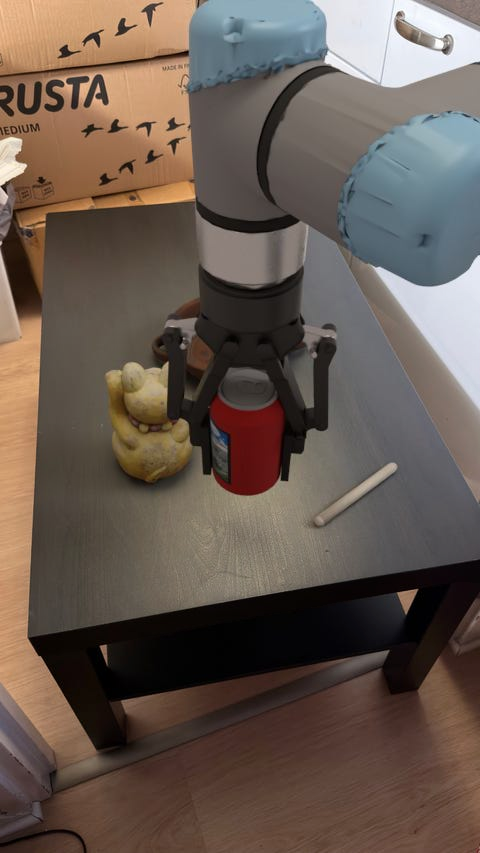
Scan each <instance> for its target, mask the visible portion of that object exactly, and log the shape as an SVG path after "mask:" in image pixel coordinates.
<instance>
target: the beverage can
mask: <svg viewBox="0 0 480 853" xmlns="http://www.w3.org/2000/svg"><path fill="white" fill-rule="evenodd" d="M209 408H210V434H211V453H212V475H213V478H214V480H215V481H216V483H217V484H218V485H219V486H220V487H221V488H222V489H223V490H225V491H226V492H228V493H231V494H233V495H235V496H236V495H237V496H241V497H242V496H243V497H251V496H258V495H262V494H264V493H266V492H268V491H269V490H271V489H272V488H273V487H274V486H275V485H276V484H277V483H278V481H279V480H280V478H281V465H282V455H283V443H284V432H285V420H286V413H285V410H284V408H283V405H282V403H281V401H280V398H279V396H278V393H277V391H276V389H275V386H274V384H273V382H271V381H270V379H269V377H268V375H267V372H266V370H258V369H254V368H250V367H244V368H229V369H228V371H227V373H226V375H225V377H224V379H222V381H221V383H220V385H219V387H218V389H217V391H216V393H215V395H214V397H213V400H212V402H211V404H210V406H209Z"/></svg>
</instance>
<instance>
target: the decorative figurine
mask: <svg viewBox="0 0 480 853" xmlns="http://www.w3.org/2000/svg"><path fill="white" fill-rule="evenodd" d="M104 379H105V383H106V384H105V385H106V387H107V392H108V398H109V400H108V414H109V415H108V416H109V420H110V422H111V427H112V428H113V430H114V431H113V433H112V436H111V446H112V450H113V452H114V455H115V457H116V459H117V462H118V464H119V465H120V467H121V469H122V470H123V471H124V472H125V473H126V474H128V475H129V476H130V477H132V478H136V479H138V480H143V481H145V482H146V483H156V482H157V481H158V480H159V479H165V478H168V477H171V476H173V475H174V476H175V474H178V472H180V471H181V470H182V469H183V468H184V467H185V466H186V464H187V463H188V462H189V460H190V457H191V455H192V453H193V451H194V448H195V446H192V445H191V443H190V435H189V424H188V422H187V421H185V420H183V419H178V420H170V419H169V418H168V417H167V389H168V362H165V363H164V364H163V366H162V367H161V368H159V367H150V368H147V369H144V367H143V366H142V365H141V364H139V363H137V362H133V361H130V362H127V363H125V365H124V366H123V368H122V370H120V369H111V370H109V371H108V372H106V373H105V375H104Z"/></svg>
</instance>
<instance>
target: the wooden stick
mask: <svg viewBox="0 0 480 853" xmlns="http://www.w3.org/2000/svg"><path fill="white" fill-rule="evenodd" d="M397 470H398V465H397V464H396V463H395V462H392V461H391V462H389V463H387V464H386V465H385V466H383V467H381V469H379V470H378V471H377V472H375V473H374V474H372V475H371V476H369V477H368V478H367V479H365V480H364V481H363V482H362V483H361V482H360V484H359V485H357V486H356V487H355V488H353V489H352V490H350V491H349V492H348V493H346V494H345V495H343V496H342V497H341V498H339V500H337V501H335V502H334V503H332V504H331V505H330V506H329V507H327V508H326V509H324V510H323V511H322V512H321V513H319V514H318V515H316V516H315V518H314V524H315V525H316V526H318V527H322V526H324V525H326V524H327V523H328V522H330V521H331V520H332V519H334V518H335V517H336V516H338V515H339V514H341V513H342V512H343V511H344V510H346V509H347V508H348V507H350V506H351V505H352V504H354V503H355V502H356V501H358V500H359V499H361V498H362V497H363V496H365V495H366V494H367V493H369V492H370V491H371V490H373V489H374V488H375V487H377V486H378V485H379V484H381V483H382V482H384V481H385V480H386V479H387V478H389V477H391V475H392V474H394V473H395V472H396V471H397Z"/></svg>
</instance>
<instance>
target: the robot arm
mask: <svg viewBox="0 0 480 853" xmlns="http://www.w3.org/2000/svg"><path fill="white" fill-rule="evenodd" d="M327 26H328V23H327V17H326V14H325V12H324V11H323V10H322V9H321V8H320V7H319V6H318V5H316V4H315V2H314V1H313V0H207V1H205V2H203V3H202V4H200V5H199V6H198V7H197V8H196V9H195V10H194V12H193V14H192V16H191V17H190V21H189V24H188V81H187V83H186V85H185V90H186V93H187V95H188V110H189V127H190V142H191V157H192V159H191V160H192V171H193V172H192V173H193V188H194V195H195V196H194V197H195V201H194V214H195V235H196V255H197V256H196V258H197V260H198V268H197V270H198V272H197V274H198V289H199V290H198V291H199V297H200V311H199V312H198V314H197V316H196V318H189V319H181V317H180V316H179V315H177V314H173V313H170V314H169V315H167V317H166V321H165V323H164V327H163V331H162V333H161V334H162V341H163V344H164V345H163V346H164V348H165V350H166V351H167V353H168V356H169V361H168V389H167V417H168V418H169V419H170V420H178V419H183V420H185V421H187V422H188V424H189V435H190V443H191V445H192V446H194V447H198V448H199V447H200V448H201V463H202V464H201V465H202V475H203V476H212V472H213V469H212V453H211V434H210V407H209V406H210V404H211V402H212V400H213V397H214V395H215V393H216V391H217V389H218V387H219V385H220V383H221V381H222V379H224V377H225V375H226V373H227V371H228V369H229V368H244V367H250V368H254V369H258V370H266V372H267V375H268V377H269V379H270V381H271V382H273V384H274V386H275V389H276V391H277V393H278V396H279V398H280V401H281V403H282V405H283V408H284V410H285V413H286V420H285V432H284V443H283V455H282V465H281V473H280V479H279V480H280V482H287V483H289V479H290V470H291V468H290V467H291V461H292V460H291V458H292V454H293V455H294V454H295V455H302V454H303V453H304V452H305V445H306V439H307V437H308V436H307V433H308V431H310V430H313V429H315V430H316V431H318V432H324V431H327V430H328V428H329V375H330V374H329V371H330V370H329V368H330V365H331V363H332V361H333V359H334V356H335V354H336V352H337V350H338V349H337V348H338V344H337V343H338V342H337V339H338V338H337V337H338V336H337V335H338V334H337V331H338V330H337V326H336V325H335V324H333V323H325V324H323V325H322V326H321V327H317V326H313V325H309V324H306V321H305V319H304V317H303V315H302V313H301V309H302V298H303V287H304V277H305V276H304V275H305V267H304V263H305V261H306V254H307V245H308V244H307V243H308V233H309V227H310V228H312V229H313V230H315V231H317V232H318V233H320V234H322V235H323V236H325V237H326V238H328V239H330V240H331V241H333V242H335V243H336V244H338V245H339V246H341V247H343V248H344V249H346V250H348V251H349V252H351V255H352V256H353V257H355V258H356V259H359V261H361V262H362V263H364V264H365V265H370V266H372V267H374V268H375V269H377V268H381V269H383V270H385V271H387V272H389V273H390V274H393V275H395V276H397V277H399V278H401V279H403V280H404V281H407V282H409V283H411V284H413V285H414V286H419V287H426V288H430V287H432V288H433V287H434V288H435V287H438V286H443V285H446V284H449V283H451V282H452V281H454V280H456V279H458V278H459V277H462V275H463V274H465V273H467V272H468V271H469V270H470V268H471V267H472V265H473V264H474V262H475V260H476V259H477V258H478V257H479V256H480V61H475V62H472V63H469V64H468V63H467V64H466V65H463V66H460V67H456V68H454V69H449V70H447V71H445V72H442V73H438V74H435V75H432V76H429V77H426V78H423V79H420V80H417V81H415V82H412V83H408V84H405V85H402V86H399V87H398V86H397V87H389V86H383V85H380V84H377V83H375V82H371V81H369V80H367V79H366V80H365V79H363V78H360V77H357V76H354V75H352V74H349V73H347V72H345V71H343V70H342V69H339V68H337V67H335V66H332V65H330V64H328V63H326V56H328V53H329V50H330V48H329V46H328V44H327V29H328V28H327ZM195 335H198V337H199V338H200V339H201V340H202V341H203V342H204V343H205V344H206V345H207V346H208V348H209V349H210V350H211V351H212V352H213V354H212V357H211V359H210V361H209V363H208V366H207V368H206V370H205V372H204V375H203V377H202V379H201V380H200V381H199V384H198V385H197V388H196V390H195V393H194V394H193V395H192V396H191V399H188V398H186V379H187V370H186V367H187V351H188V347H189V346H190V345H191V344H192V340H193V336H195ZM301 342H304V343H305V344H306V353H307V354H309V356H310V358H311V359H313V361H312V362H313V363H312V366H313V367H312V368H313V369H312V376H313V378H312V379H313V383H312V384H313V385H312V386H313V407H307V405H306V402H305V400H304V397H303V395H302V392H301V389H300V387H299V384H298V381H297V379H296V376H295V374H294V370H293V369H292V366H291V363H290V361H289V354H290V353H291V352H293V351H292V350H293V349H294V348H295V347H296V346H297V345H298V344H300V343H301ZM287 354H288V355H287Z"/></svg>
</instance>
